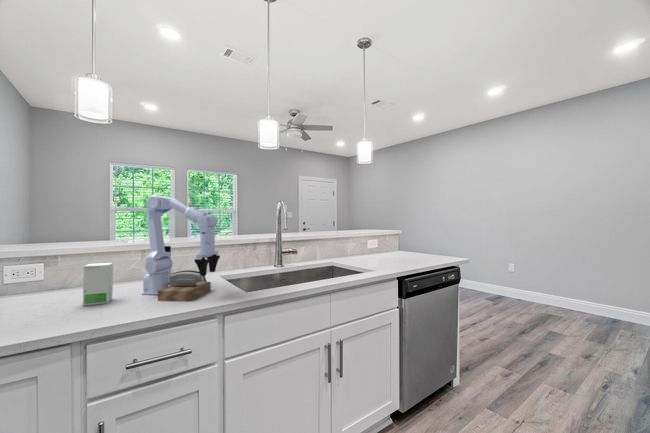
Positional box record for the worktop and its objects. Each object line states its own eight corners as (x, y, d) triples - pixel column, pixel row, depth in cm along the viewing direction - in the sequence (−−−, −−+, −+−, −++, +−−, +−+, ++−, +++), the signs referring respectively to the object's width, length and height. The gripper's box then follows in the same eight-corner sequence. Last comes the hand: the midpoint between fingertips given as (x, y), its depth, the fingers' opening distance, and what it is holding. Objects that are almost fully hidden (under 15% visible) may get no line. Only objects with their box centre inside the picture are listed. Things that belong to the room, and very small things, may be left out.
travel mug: (156, 286, 133) (155, 246, 133) (157, 283, 139) (157, 245, 139) (171, 285, 136) (170, 245, 136) (171, 282, 142) (171, 244, 142)
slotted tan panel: (157, 300, 110) (157, 290, 110) (182, 289, 126) (182, 281, 126) (190, 301, 109) (190, 291, 109) (210, 290, 125) (210, 281, 125)
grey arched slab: (209, 284, 136) (206, 267, 132) (205, 290, 131) (203, 272, 128) (174, 285, 134) (170, 268, 131) (170, 291, 130) (166, 273, 126)
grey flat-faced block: (176, 295, 117) (175, 279, 117) (179, 294, 119) (178, 278, 119) (193, 296, 116) (193, 280, 116) (196, 294, 118) (195, 278, 118)
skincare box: (82, 306, 104) (81, 266, 104) (88, 301, 110) (88, 263, 110) (109, 303, 108) (108, 264, 108) (113, 298, 114) (113, 261, 114)
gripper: (207, 244, 110) (207, 277, 110) (224, 240, 124) (224, 270, 124) (191, 244, 110) (191, 277, 110) (209, 241, 125) (209, 270, 125)
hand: (207, 273), depth 117 cm, fingers open, 7 cm apart
